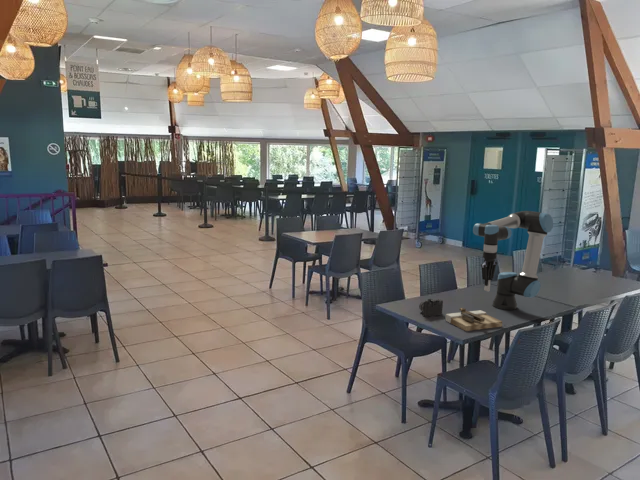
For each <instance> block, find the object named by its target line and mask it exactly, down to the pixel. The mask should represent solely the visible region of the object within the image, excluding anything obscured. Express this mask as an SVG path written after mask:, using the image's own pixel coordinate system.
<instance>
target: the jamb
mask: <svg viewBox="0 0 640 480" xmlns="http://www.w3.org/2000/svg"><path fill="white" fill-rule="evenodd" d="M468 311H469V312H471V313H474V314H476V315H484V314H487V312H486V311H483V310H480V309H479V310H468ZM462 315H463V314H462V311H460V312H452V313H451V312H450V313H446V314H445V321H446V322H448V323H449V324H451V318H458V317H462Z"/></svg>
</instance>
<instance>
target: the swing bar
mask: <svg viewBox="0 0 640 480" xmlns="http://www.w3.org/2000/svg"><path fill="white" fill-rule="evenodd" d="M466 309H467V308H465V307H459V311H460V312H461V311H462V314H463V313H467V314H469V315H471V316H473V317H474V319H475V320H477V321H479V322H484V321H485V318H483V317H481V316H479V315H476V314H474V313H471V312H469V311H470V310H466Z"/></svg>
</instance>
